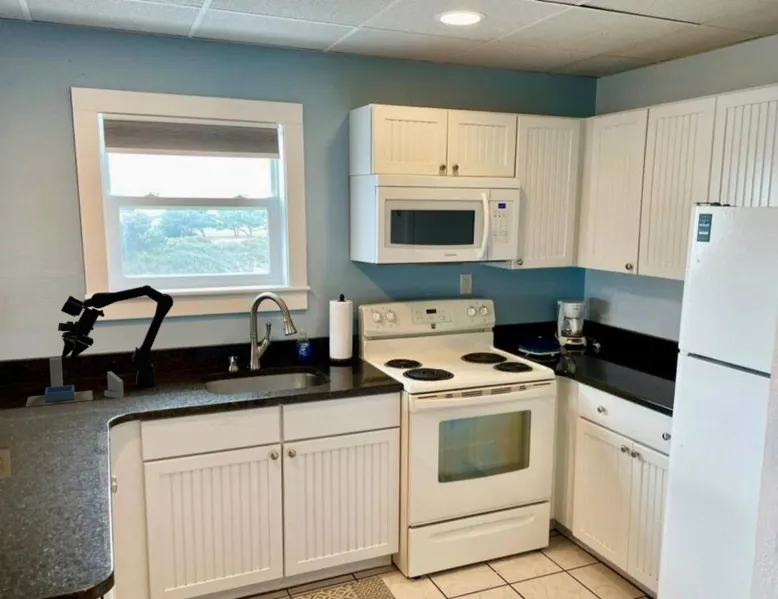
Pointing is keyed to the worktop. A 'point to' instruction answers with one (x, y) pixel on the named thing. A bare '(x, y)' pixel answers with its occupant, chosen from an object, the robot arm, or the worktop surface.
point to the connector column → (56, 372)
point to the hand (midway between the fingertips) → (66, 358)
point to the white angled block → (114, 386)
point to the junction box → (59, 393)
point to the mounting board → (78, 397)
